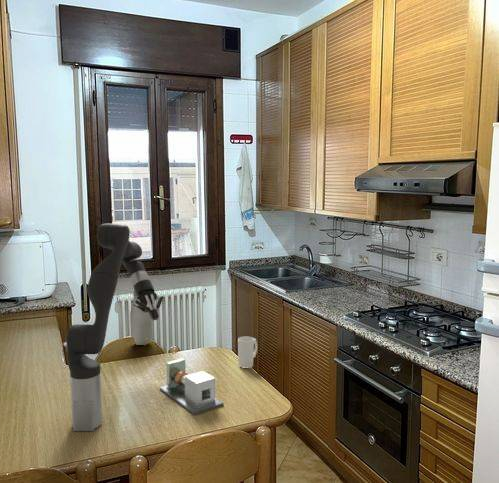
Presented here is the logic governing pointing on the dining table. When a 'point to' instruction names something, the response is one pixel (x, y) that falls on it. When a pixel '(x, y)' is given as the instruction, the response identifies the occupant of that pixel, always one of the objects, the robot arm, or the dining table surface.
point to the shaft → (176, 372)
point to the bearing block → (195, 393)
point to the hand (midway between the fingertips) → (156, 319)
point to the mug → (246, 351)
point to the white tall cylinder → (140, 324)
